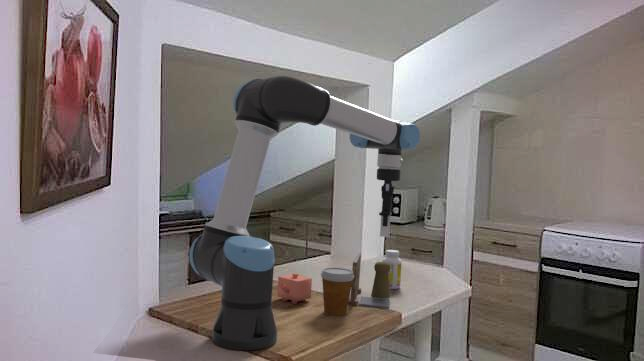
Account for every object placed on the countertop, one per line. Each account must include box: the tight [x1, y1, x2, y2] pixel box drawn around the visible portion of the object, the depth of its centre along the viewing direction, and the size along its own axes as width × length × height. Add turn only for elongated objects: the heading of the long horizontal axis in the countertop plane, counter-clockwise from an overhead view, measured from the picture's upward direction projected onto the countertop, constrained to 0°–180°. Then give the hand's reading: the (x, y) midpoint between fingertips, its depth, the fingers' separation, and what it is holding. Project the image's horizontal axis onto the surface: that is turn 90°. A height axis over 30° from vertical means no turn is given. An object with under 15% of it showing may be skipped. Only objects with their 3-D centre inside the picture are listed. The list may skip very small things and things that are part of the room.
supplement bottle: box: [381, 249, 403, 290], centre depth 184 cm, size 7×7×13 cm
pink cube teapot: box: [276, 272, 313, 305], centre depth 159 cm, size 8×12×8 cm, turn 143°
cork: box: [371, 261, 391, 299], centre depth 171 cm, size 6×6×11 cm
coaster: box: [358, 295, 390, 309], centre depth 162 cm, size 9×9×1 cm
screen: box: [348, 252, 362, 307], centre depth 166 cm, size 3×18×13 cm, turn 172°
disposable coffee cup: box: [320, 267, 354, 317], centre depth 149 cm, size 10×10×12 cm
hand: (384, 233), depth 171 cm, fingers open, 13 cm apart
